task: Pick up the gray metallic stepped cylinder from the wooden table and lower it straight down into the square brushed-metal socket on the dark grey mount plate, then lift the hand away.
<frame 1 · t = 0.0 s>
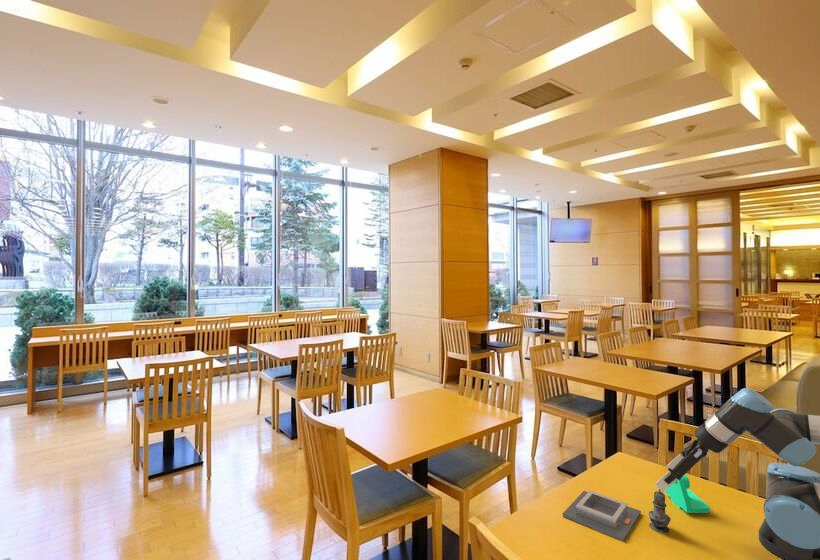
hand: (664, 478, 125), 15 cm above the table, tool tilted 35°, fingers open, 13 cm apart
gray metallic stepped cylinder: (659, 528, 126), on the table
camera mount: (687, 505, 138), on the table
mount plate: (601, 515, 132), on the table
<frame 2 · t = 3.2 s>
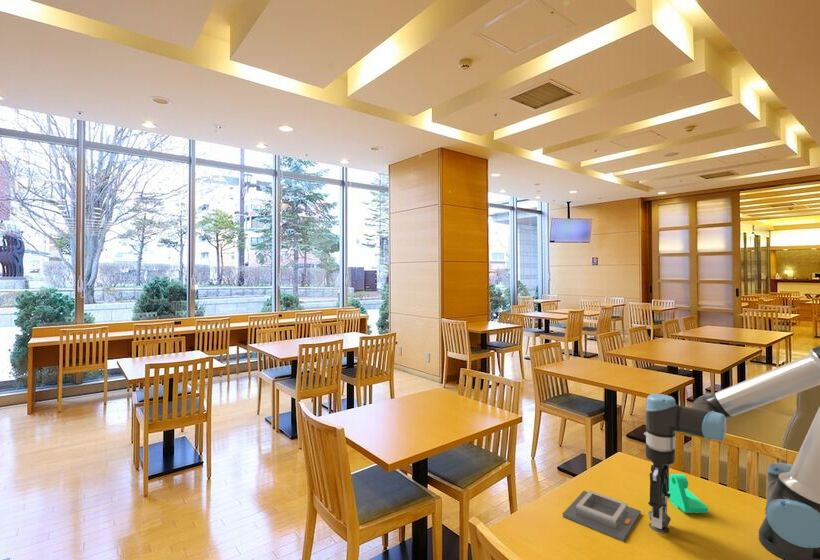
hand: (659, 521, 126), 2 cm above the table, tool pointing down, fingers closed on gray metallic stepped cylinder, 6 cm apart
gray metallic stepped cylinder: (659, 528, 126), on the table, touching gripper
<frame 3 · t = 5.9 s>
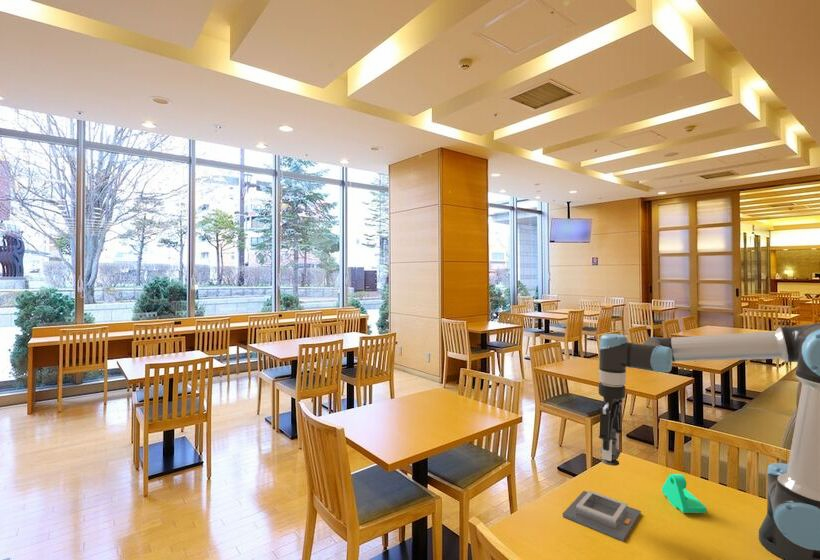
hand: (610, 455, 131), 20 cm above the table, tool pointing down, fingers closed on gray metallic stepped cylinder, 6 cm apart
gray metallic stepped cylinder: (609, 462, 131), point 18 cm above the table, touching gripper
when the fingers open (5 cm above the table, at t = 8.7 s): gray metallic stepped cylinder drops 2 cm, resting on mount plate.
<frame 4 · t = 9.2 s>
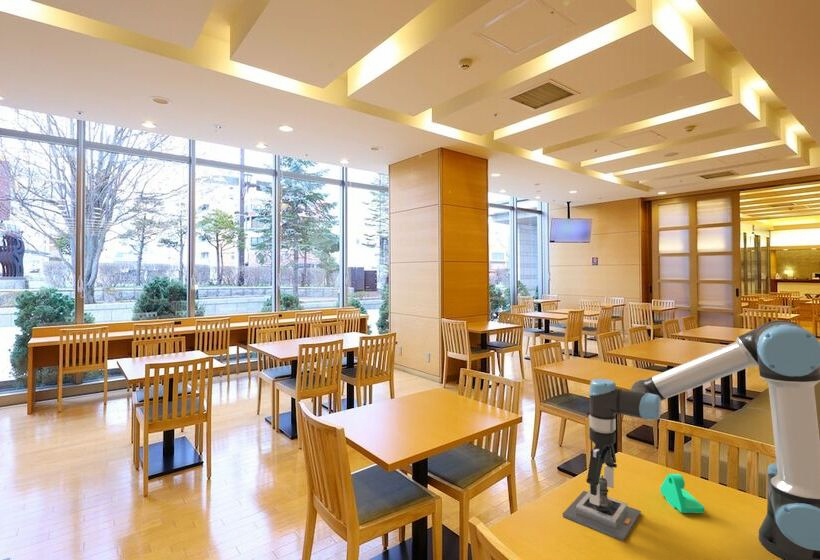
hand: (602, 494, 132), 7 cm above the table, tool pointing down, fingers open, 13 cm apart
gray metallic stepped cylinder: (601, 512, 132), point 1 cm above the table, touching mount plate
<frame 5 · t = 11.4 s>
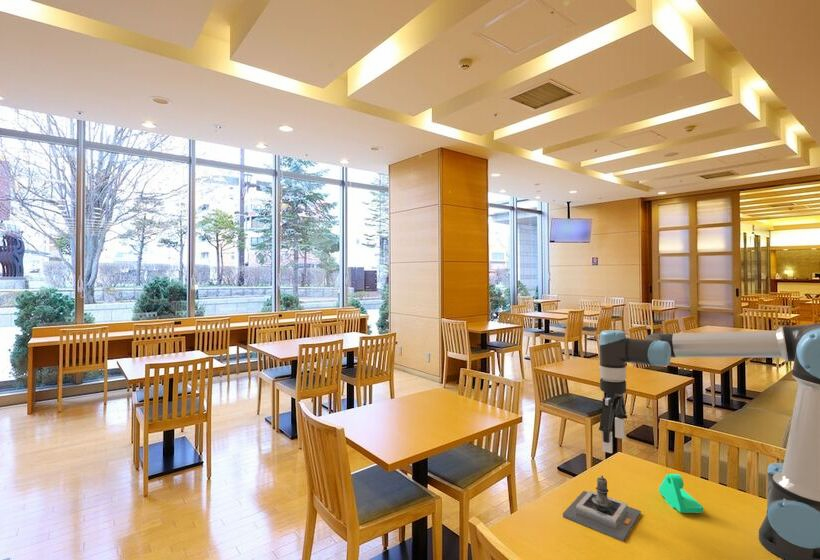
hand: (613, 444, 133), 22 cm above the table, tool pointing down, fingers open, 13 cm apart
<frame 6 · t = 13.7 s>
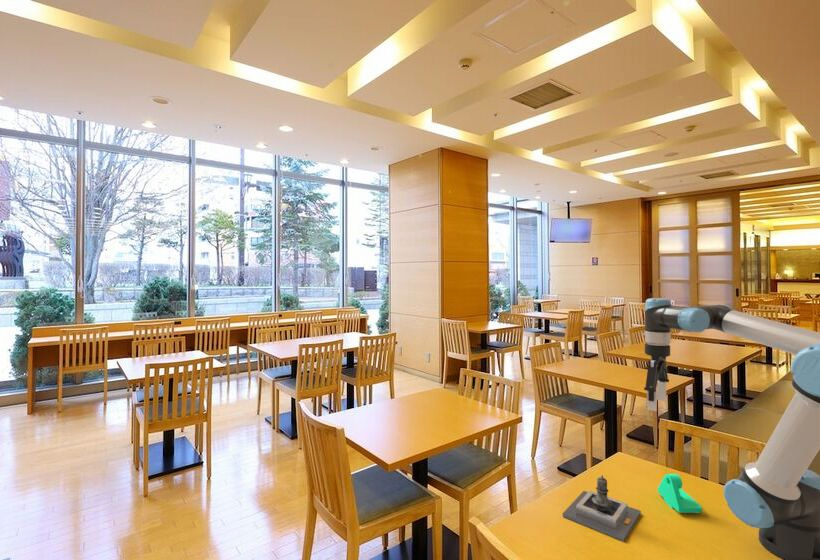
hand: (656, 405, 142), 32 cm above the table, tool pointing down, fingers open, 13 cm apart
at the end: gray metallic stepped cylinder 0.0 cm off-centre on the mount plate, point 0.8 cm above the mount plate's base; gray metallic stepped cylinder tilted 0°; the gripper is holding nothing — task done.
